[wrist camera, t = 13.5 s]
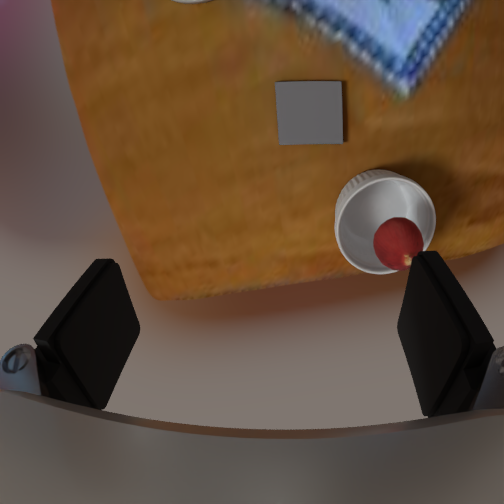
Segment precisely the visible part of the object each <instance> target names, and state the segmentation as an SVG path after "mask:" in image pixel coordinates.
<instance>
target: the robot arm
mask: <svg viewBox="0 0 504 504" xmlns="http://www.w3.org/2000/svg"><path fill="white" fill-rule="evenodd" d="M172 1H175V2H179V3H184V4H198V3H205V2H209V1H212V0H172ZM397 329H398V334H399V337H400V340H401V343H402V346H403V349H404V352H405V355H406V358H407V362H408V365H409V368H410V371H411V375H412V378H413V381H414V385H415V388H416V392H417V395H418V399H419V403H420V406H421V410H422V413H423V415H424V416H428V418H425V419H418V420H412V421H404V422H397V423H388V424H380V425H371V426H360V427H348V428H331V429H306V430H304V429H303V430H266V429H239V428H223V427H210V426H198V425H189V424H180V423H172V422H165V421H158V420H151V419H145V418H139V417H132V416H126V415H122V414H117V413H112V412H107V411H102V410H101V409H104V408H105V407H106V406H107V403H108V401H109V399H110V396H111V394H112V392H113V390H114V387H115V385H116V383H117V381H118V379H119V376H120V374H121V372H122V370H123V368H124V365H125V363H126V361H127V359H128V357H129V355H130V352H131V350H132V348H133V346H134V344H135V342H136V340H137V338H138V336H139V333H140V325H139V321H138V318H137V316H136V313H135V310H134V307H133V305H132V302H131V299H130V296H129V293H128V290H127V288H126V284H125V282H124V279H123V276H122V272H121V269H120V266H119V265H118V263H115V261H114V260H113V259H96V260H95V261H94V262H93V263H92V264H91V265H90V267H89V268H88V269H87V270H86V271H85V273H84V274H83V275H82V276H81V277H80V279H79V280H78V281H77V282H76V283H75V285H74V286H73V287H72V288H71V290H70V291H69V292H68V293H67V295H66V296H65V297H64V298H63V300H62V301H61V302H60V304H59V305H58V306H57V307H56V309H55V310H54V311H53V313H52V314H51V315H50V317H49V318H48V319H47V320H46V322H45V323H44V324H43V326H42V327H41V329H40V330H39V331H38V333H37V334H36V335H35V337H34V341H35V342H36V344H37V348H36V349H34V348H33V347H32V346H31V345H29V344H19V345H16V346H14V347H12V348H10V349H9V350H8V351H7V352H6V353H5V354H4V355H3V356H2V358H1V360H0V504H504V346H503V347H499V348H498V349H496V347H495V345H494V344H493V341H494V340H493V338H492V336H491V334H490V333H489V331H488V329H487V327H486V326H485V324H484V322H483V321H482V319H481V317H480V315H479V314H478V312H477V311H476V309H475V307H474V306H473V304H472V302H471V301H470V299H469V298H468V296H467V295H466V293H465V291H464V290H463V288H462V287H461V285H460V284H459V282H458V281H457V280H456V278H455V276H454V275H453V274H452V272H451V271H450V269H449V267H448V266H447V265H446V263H445V262H444V260H443V259H442V257H441V256H440V255H439V253H438V252H437V251H419V252H418V254H417V256H414V257H413V258H412V261H411V266H410V272H409V276H408V281H407V286H406V290H405V295H404V299H403V304H402V307H401V311H400V316H399V319H398V325H397Z"/></svg>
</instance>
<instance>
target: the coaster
mask: <svg viewBox="0 0 504 504" xmlns="http://www.w3.org/2000/svg"><path fill="white" fill-rule="evenodd" d="M275 91H276V105H277V120H278V135H279V145H292V144H343V116H342V86H341V81H294V82H275Z"/></svg>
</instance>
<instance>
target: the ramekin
mask: <svg viewBox="0 0 504 504" xmlns="http://www.w3.org/2000/svg"><path fill="white" fill-rule="evenodd" d="M393 217H405V218H407V219H409V220H411V221H413V222H414V223H415V224H416V225H417V227H418V228H419V230H420V231H421V233H422V237H423V242H424V247H423V251H425V250H426V249H427V247H428V246H429V244H430V242H431V240H432V237H433V235H434V231H435V226H436V214H435V208H434V205H433V203H432V200H431V198H430V197H429V195H428V194H427V193H426V191H425V190H424V189H423V188H422V187H421V186H420V185H419V184H418V183H416V182H415V181H413V180H412V179H410V178H407V177H405V176H402V175H399V174H397V173H394V172H392V171H387V170H380V169H378V170H368V171H366V172H363V173H361V174H358V175H357V176H355V177H354V178H352V179H351V180H350V181H349V182H348V183H347V184H346V185H345V187H344V188H343V189H342V191H341V193H340V194H339V198H338V199H337V203H336V210H335V235H336V240H337V243H338V245H339V248H340V250H341V252H342V254H343V255H344V257H345V258H346V259H347V260H348V261H349V262H350V263H351V264H352V265H353V266H355V267H356V268H358V269H360V270H362V271H365V272H368V273H373V274H388V273H393V272H396V271H397V270H392V269H390V268H388V267H386V266H384V265H383V264H382V263H381V262H380V260H379V259H378V257H377V256H376V254H375V250H374V247H373V240H374V234H375V232H376V231H377V229H378V228H379V226H380V225H381V224H382V223H384V222H385V221H386V220H388V219H391V218H393Z"/></svg>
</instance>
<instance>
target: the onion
mask: <svg viewBox="0 0 504 504" xmlns="http://www.w3.org/2000/svg"><path fill="white" fill-rule="evenodd" d="M373 247H374V250H375V254H376V256H377V257H378V259H379V260H380V262H381V263H382V264H383V265H384V266H386V267H388V268H390V269H392V270H397V271H402V270H407V269H409V268H410V266H411V261H412V258H413V257H414V256H417V254H418V252H419V251H423V247H424V242H423V237H422V233H421V231H420V230H419V228H418V227H417V225H416V224H415V223H414V222H413V221H411V220H409V219H407V218H405V217H393V218H391V219H388V220H386V221H385V222H384V223H382V224H381V225H380V226H379V228H378V229H377V231H376V232H375V234H374V240H373Z"/></svg>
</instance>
